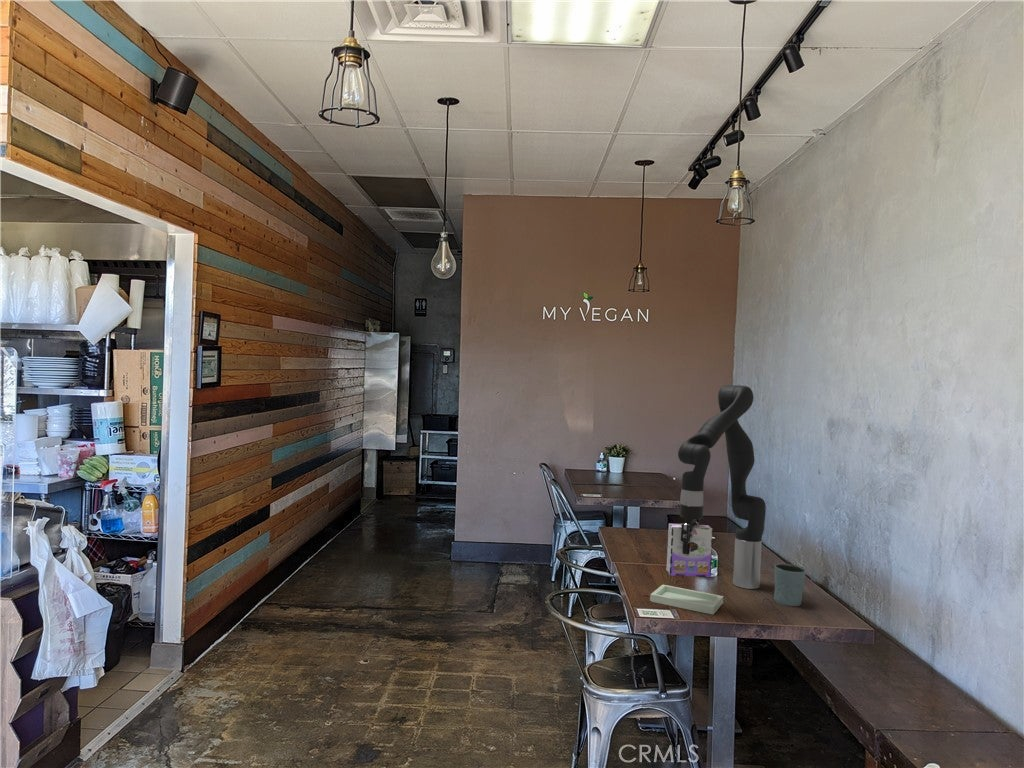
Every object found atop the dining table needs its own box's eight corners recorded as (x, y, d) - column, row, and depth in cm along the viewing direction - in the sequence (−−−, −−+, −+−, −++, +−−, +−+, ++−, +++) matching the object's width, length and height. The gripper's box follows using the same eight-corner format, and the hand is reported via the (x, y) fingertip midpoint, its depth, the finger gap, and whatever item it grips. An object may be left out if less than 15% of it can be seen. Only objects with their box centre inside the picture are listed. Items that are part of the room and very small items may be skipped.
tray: (662, 591, 237) (662, 584, 237) (722, 603, 227) (723, 596, 227) (650, 601, 225) (650, 594, 225) (713, 614, 215) (713, 607, 215)
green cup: (778, 595, 239) (779, 561, 239) (808, 602, 233) (809, 567, 233) (768, 601, 231) (770, 567, 231) (799, 609, 225) (801, 573, 225)
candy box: (706, 573, 229) (709, 524, 229) (711, 578, 223) (713, 528, 223) (665, 570, 230) (668, 522, 229) (669, 575, 224) (671, 526, 224)
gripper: (686, 499, 234) (683, 545, 234) (674, 504, 222) (672, 554, 222) (708, 501, 231) (705, 549, 231) (697, 507, 218) (694, 557, 218)
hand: (689, 551), depth 226 cm, fingers closed on candy box, 8 cm apart
